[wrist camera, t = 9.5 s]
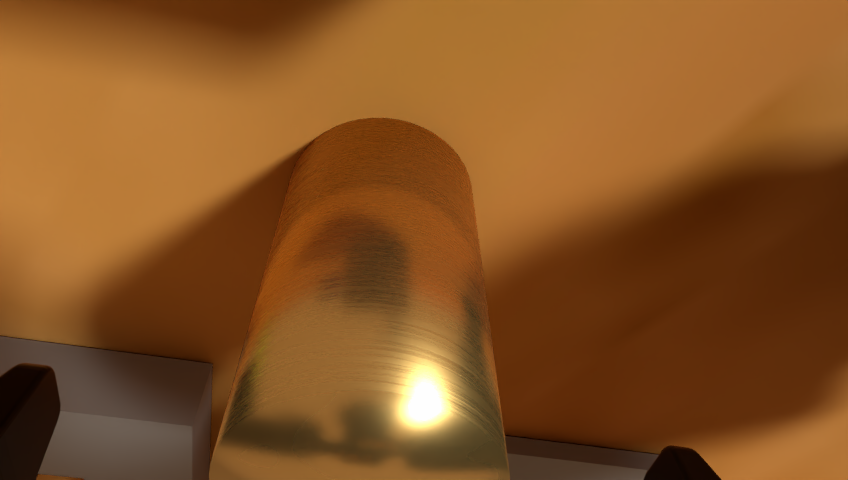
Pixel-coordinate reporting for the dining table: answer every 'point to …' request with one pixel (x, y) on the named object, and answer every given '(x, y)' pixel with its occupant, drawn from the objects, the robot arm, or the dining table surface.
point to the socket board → (122, 412)
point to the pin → (369, 323)
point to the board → (573, 461)
